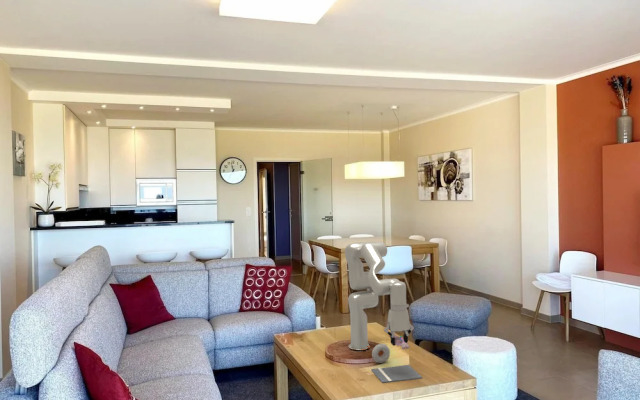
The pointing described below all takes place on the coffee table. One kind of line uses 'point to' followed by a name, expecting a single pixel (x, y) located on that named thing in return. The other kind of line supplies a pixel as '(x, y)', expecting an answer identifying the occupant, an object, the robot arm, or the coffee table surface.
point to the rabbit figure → (401, 342)
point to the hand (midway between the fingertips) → (399, 343)
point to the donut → (376, 350)
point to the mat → (396, 373)
